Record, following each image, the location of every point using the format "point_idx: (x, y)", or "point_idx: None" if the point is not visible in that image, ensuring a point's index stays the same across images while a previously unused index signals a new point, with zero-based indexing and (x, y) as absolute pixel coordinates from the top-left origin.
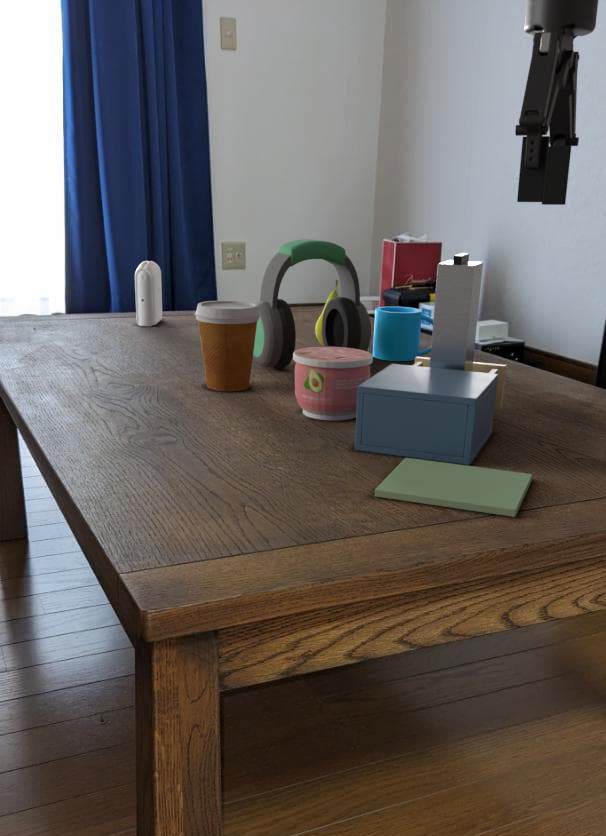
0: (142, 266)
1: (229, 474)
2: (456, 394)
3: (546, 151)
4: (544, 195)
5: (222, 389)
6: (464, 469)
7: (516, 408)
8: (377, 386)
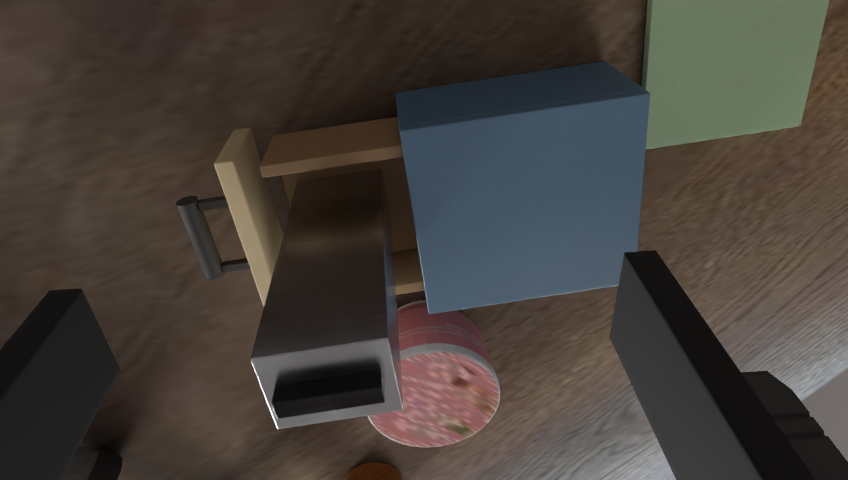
0: None
1: (751, 294)
2: (630, 135)
3: (773, 423)
4: (101, 393)
5: (401, 475)
6: (672, 51)
7: (170, 113)
8: None
